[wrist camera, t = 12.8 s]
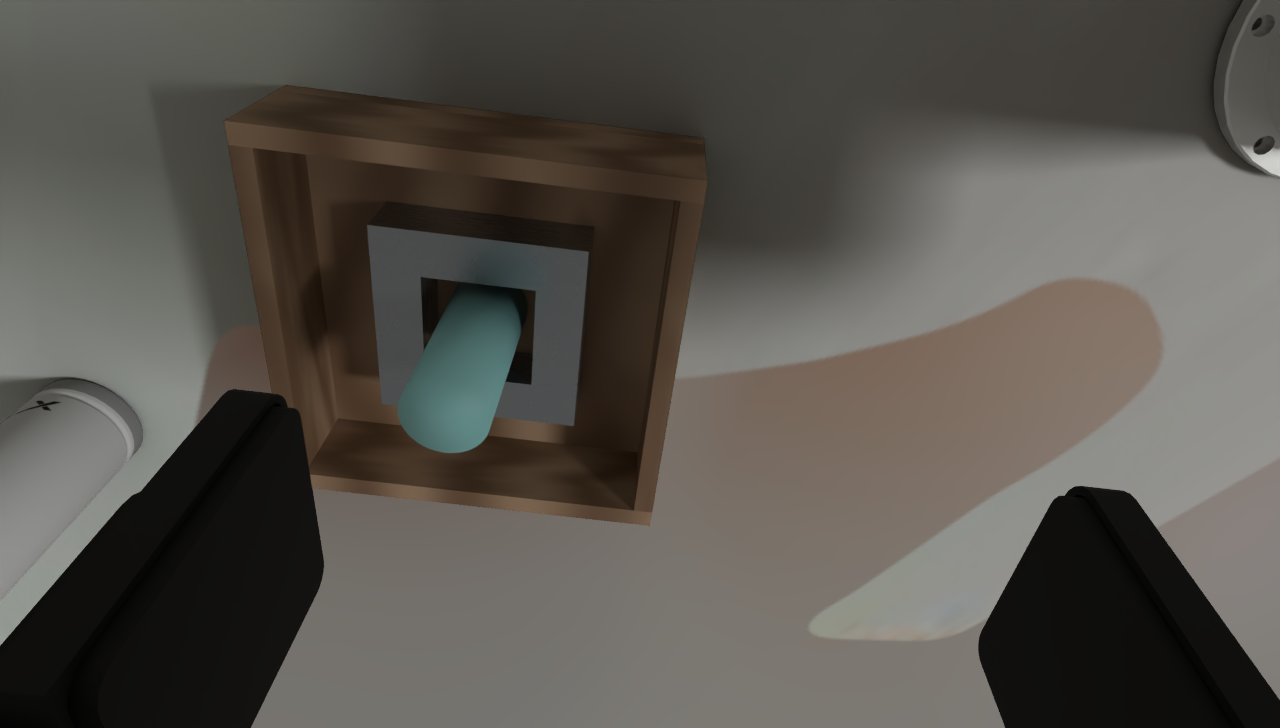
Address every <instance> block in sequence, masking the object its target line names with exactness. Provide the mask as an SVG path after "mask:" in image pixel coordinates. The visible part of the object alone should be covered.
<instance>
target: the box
mask: <svg viewBox="0 0 1280 728" xmlns="http://www.w3.org/2000/svg"><path fill="white" fill-rule="evenodd" d="M224 125H225V130H226V136H227V141H228V147H229V153H230V158H231V164H232V170H233V175H234V181H235V187H236V192H237V198H238V204H239V209H240V215H241V221H242V226H243V232H244V237H245V243H246V249H247V254H248V260H249V266H250V271H251V277H252V283H253V288H254V294H255V300H256V305H257V311H258V317H259V322H260V328H261V334H262V339H263V345H264V350H265V356H266V361H267V367H268V373H269V378H270V384H271V390H272V394H279V395H281V396H283V397H284V399H285V400H286V403H287V406H288V408H295V409H297V410H298V411H299V413H300V416H301V420H302V427H303V433H304V439H305V446H306V452H307V458H308V464H309V471H310V477H311V483H312V488H315V489H324V490H333V491H342V492H351V493H361V494H369V495H378V496H387V497H396V498H405V499H414V500H424V501H433V502H441V503H450V504H459V505H468V506H477V507H486V508H495V509H504V510H513V511H523V512H531V513H540V514H550V515H558V516H567V517H576V518H585V519H594V520H604V521H613V522H621V523H630V524H639V525H648V526H649V525H650V521H651V515H652V510H653V503H654V498H655V491H656V485H657V480H658V474H659V467H660V462H661V456H662V450H663V444H664V439H665V432H666V427H667V420H668V415H669V409H670V403H671V397H672V391H673V385H674V379H675V373H676V368H677V362H678V356H679V350H680V344H681V338H682V332H683V326H684V320H685V314H686V308H687V302H688V296H689V291H690V285H691V279H692V273H693V267H694V261H695V255H696V249H697V243H698V237H699V231H700V225H701V220H702V214H703V208H704V202H705V196H706V190H707V184H708V177H707V167H706V157H705V147H704V138H698V137H690V136H683V135H675V134H667V133H659V132H651V131H643V130H635V129H627V128H619V127H612V126H604V125H596V124H588V123H580V122H572V121H564V120H556V119H548V118H541V117H533V116H525V115H517V114H509V113H501V112H493V111H485V110H477V109H470V108H462V107H454V106H446V105H438V104H430V103H422V102H414V101H406V100H399V99H391V98H383V97H375V96H367V95H359V94H351V93H343V92H335V91H328V90H320V89H312V88H304V87H296V86H288V85H285V86H283V87H282V88H280V89H278V90H276V91H275V92H273V93H271V94H269V95H268V96H266V97H264V98H262V99H261V100H259V101H257V102H256V103H254V104H252V105H250V106H249V107H247V108H245V109H243V110H242V111H240V112H238V113H236V114H235V115H233V116H231V117H230V118H228V119H226V120H224ZM387 201H390V202H398V203H406V204H414V205H422V206H430V207H439V208H447V209H455V210H463V211H471V212H479V213H487V214H496V215H504V216H512V217H520V218H528V219H536V220H544V221H553V222H561V223H569V224H577V225H585V226H593V227H594V237H593V248H592V259H591V271H590V282H589V293H588V304H587V316H586V327H585V338H584V349H583V361H582V372H581V383H580V394H579V400H578V405H577V411H576V417H575V422H574V426H569V425H560V424H552V423H543V422H534V421H525V420H517V419H508V418H499V417H494V418H493V421H492V424H491V427H490V430H489V433H488V435H487V437H486V438H485V439H484V441H483V442H482V443H481V444H479V445H478V446H477V447H475V448H473V449H471V450H468V451H465V452H460V453H444V452H438V451H434V450H431V449H429V448H426V447H424V446H422V445H421V444H419V443H417V442H416V441H415V440H414V439H412V438H411V437H410V436H409V435H408V434H407V432H406V431H405V430H404V428H403V427H402V425H401V423H400V421H399V417H398V412H397V410H398V406H395V405H386V404H382V401H381V389H380V377H379V364H378V352H377V340H376V328H375V316H374V304H373V292H372V280H371V268H370V256H369V244H368V232H367V224H368V223H369V222H370V221H371V219H372V218H373V217H374V216H375V215H376V214H377V212H378V211H379V210H380V209H381V208H382V206H383V205H384V204H385V203H386V202H387ZM437 283H438V316H439V321H440V319H441V317H442V315H443V313H444V311H445V309H446V307H447V305H448V303H449V301H450V299H451V297H452V295H453V293H454V291H455V290H456V288H457V286H458V284H459V283H460V282H458V281H450V280H442V279H437ZM522 291H523V293H524V295H525V297H526V300H527V304H528V312H527V317H526V320H525V323H524V326H523V329H522V332H521V335H520V338H519V341H518V344H517V347H516V350H515V352H524V353H532V354H533V341H534V320H535V298H536V291H533V290H525V289H522Z"/></svg>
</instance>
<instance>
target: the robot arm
mask: <svg viewBox="0 0 1280 728" xmlns="http://www.w3.org/2000/svg"><path fill="white" fill-rule="evenodd" d="M1254 22H1255V23H1254ZM1213 85H1214V109H1215V113H1216V116H1217V119H1218V123H1219V126H1220V130H1221V132H1222V134H1223V135H1224V137H1225V138H1226V140H1227V142H1228V143H1229V145H1230V147H1231V148H1232V149H1233V150H1234V151H1235V152H1236V153H1237V154H1238V155H1239V156H1240V157H1241V158H1243V159H1244V160H1245V161H1246V162H1247V163H1248V164H1250V165H1252V166H1254V167H1256V168H1258V169H1259V170H1261V171H1263V172H1265V173H1266V174H1268V175H1271V176H1274V177H1277V178H1279V179H1280V0H1243V1H1242V3H1241V5H1240V7H1239V9H1238V11H1237V12H1236V14H1235V16H1234V18H1233V20H1232V22H1231V23H1230V25H1229V27H1228V30H1227V33H1226V36H1225V38H1224V41H1223V44H1222V47H1221V50H1220V52H1219V55H1218V60H1217V66H1216V72H1215V78H1214V84H1213ZM323 568H324V560H323V553H322V546H321V540H320V535H319V528H318V522H317V515H316V509H315V502H314V496H313V490H312V483H311V477H310V471H309V464H308V458H307V452H306V446H305V439H304V433H303V427H302V420H301V416H300V413H299V411H298V410H297V409H295V408H288V406H287V403H286V400H285V399H284V397H283V396H281V395H279V394H271V393H263V392H254V391H245V390H236V389H233V390H229V391H227V392H226V393H225V394H224V395H222V397H221V398H220V399H219V400H218V401H217V402H216V404H215V405H214V406H213V407H212V408H211V410H210V411H209V412H208V413H207V414H206V416H205V417H204V418H203V419H202V420H201V421H200V423H199V424H198V425H197V426H196V427H195V428H194V429H193V431H192V432H191V433H190V434H189V435H188V437H187V438H186V439H185V440H184V441H183V442H182V444H181V445H180V446H179V447H178V448H177V449H176V451H175V452H174V453H173V454H172V455H171V457H170V458H169V459H168V460H167V461H166V462H165V464H164V465H163V466H162V467H161V468H160V469H159V471H158V472H157V473H156V474H155V475H154V477H153V478H152V479H151V480H150V481H149V482H148V484H147V485H146V486H145V487H144V488H143V489H142V491H141V492H139V493H137V494H134V495H132V496H131V497H130V498H129V499H128V500H127V501H126V502H125V503H124V504H122V505H121V506H120V508H119V509H118V510H117V511H116V512H115V513H114V515H113V516H112V517H111V518H110V519H109V520H108V522H107V523H106V524H105V525H104V526H103V527H102V529H101V530H100V531H99V532H98V533H97V534H96V535H95V537H94V538H93V539H92V540H91V541H90V542H89V544H88V545H87V546H86V547H85V548H84V549H83V551H82V552H81V553H80V554H79V555H78V556H77V558H76V559H75V560H74V561H73V562H72V563H71V564H70V566H69V567H68V568H67V569H66V570H65V571H64V573H63V574H62V575H61V576H60V577H59V578H58V580H57V581H56V582H55V583H54V584H53V585H52V587H51V588H50V589H49V590H48V591H47V592H46V593H45V595H44V596H43V597H42V598H41V599H40V600H39V602H38V603H37V604H36V605H35V606H34V607H33V609H32V610H31V611H30V612H29V613H28V614H27V615H26V617H25V618H24V619H23V620H22V621H21V622H20V624H19V625H18V626H17V627H16V628H15V629H14V631H13V632H12V633H11V634H10V635H9V636H8V638H7V639H6V640H5V641H4V642H3V643H2V644H1V646H0V728H251V726H252V724H253V722H254V720H255V718H256V716H257V714H258V712H259V710H260V708H261V706H262V703H263V702H264V699H265V697H266V695H267V693H268V691H269V689H270V687H271V685H272V683H273V681H274V679H275V677H276V675H277V673H278V671H279V669H280V667H281V665H282V663H283V661H284V659H285V657H286V655H287V653H288V651H289V649H290V647H291V644H292V642H293V641H294V639H295V637H296V635H297V632H298V630H299V628H300V626H301V624H302V622H303V620H304V618H305V616H306V614H307V612H308V610H309V608H310V606H311V604H312V602H313V600H314V598H315V596H316V594H317V592H318V589H319V587H320V584H321V580H322V575H323ZM978 647H979V649H978V650H979V657H980V661H981V664H982V667H983V670H984V672H985V675H986V678H987V680H988V683H989V686H990V688H991V690H992V694H993V696H994V699H995V702H996V704H997V707H998V709H999V712H1000V715H1001V717H1002V720H1003V723H1004V725H1005V728H1280V700H1279V699H1278V697H1277V696H1276V694H1275V693H1274V692H1273V690H1272V689H1271V687H1270V686H1269V685H1268V683H1267V682H1266V680H1265V679H1264V678H1263V676H1262V675H1261V673H1260V672H1259V671H1258V669H1257V668H1256V666H1255V665H1254V664H1253V662H1252V661H1251V660H1250V658H1249V657H1248V655H1247V654H1246V653H1245V651H1244V650H1243V648H1242V647H1241V646H1240V644H1239V643H1238V642H1237V640H1236V639H1235V637H1234V636H1233V635H1232V633H1231V632H1230V630H1229V629H1228V627H1227V626H1226V625H1225V623H1224V622H1223V620H1222V619H1221V618H1220V616H1219V615H1218V613H1217V612H1216V611H1215V609H1214V608H1213V606H1212V605H1211V604H1210V602H1209V601H1208V599H1207V598H1206V597H1205V595H1204V594H1203V592H1202V591H1201V590H1200V588H1199V587H1198V586H1197V584H1196V583H1195V581H1194V580H1193V579H1192V577H1191V576H1190V575H1189V573H1188V572H1187V570H1186V569H1185V568H1184V566H1183V565H1182V563H1181V562H1180V560H1179V559H1178V558H1177V556H1176V555H1175V553H1174V552H1173V551H1172V549H1171V548H1170V547H1169V545H1168V544H1167V542H1166V541H1165V539H1164V538H1163V537H1162V536H1161V534H1160V532H1159V531H1158V530H1157V528H1156V527H1155V526H1154V524H1153V523H1152V521H1151V520H1150V519H1149V517H1148V516H1147V514H1146V513H1145V512H1144V510H1143V509H1142V507H1141V506H1140V505H1139V503H1138V502H1137V500H1136V499H1135V498H1134V497H1133V496H1132V495H1131V494H1129V493H1127V492H1125V491H1120V490H1111V489H1102V488H1094V487H1085V486H1076V487H1073V488H1072V489H1070V490H1069V491H1068V492H1067V494H1066V495H1065V496H1058V497H1057V498H1055V499H1054V500H1053V502H1052V503H1051V505H1050V507H1049V508H1048V510H1047V512H1046V514H1045V516H1044V518H1043V519H1042V521H1041V523H1040V525H1039V527H1038V529H1037V530H1036V532H1035V534H1034V536H1033V538H1032V540H1031V541H1030V543H1029V545H1028V547H1027V549H1026V551H1025V552H1024V554H1023V556H1022V558H1021V560H1020V562H1019V563H1018V565H1017V567H1016V569H1015V571H1014V573H1013V574H1012V576H1011V578H1010V580H1009V582H1008V584H1007V585H1006V587H1005V589H1004V591H1003V593H1002V595H1001V596H1000V598H999V600H998V602H997V604H996V606H995V607H994V609H993V611H992V613H991V615H990V617H989V618H988V620H987V622H986V624H985V626H984V628H983V629H982V631H981V634H980V637H979V646H978Z"/></svg>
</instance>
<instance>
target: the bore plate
mask: <svg viewBox="0 0 1280 728" xmlns="http://www.w3.org/2000/svg"><path fill="white" fill-rule="evenodd" d="M367 232H368V244H369V256H370V268H371V280H372V292H373V304H374V316H375V328H376V340H377V352H378V364H379V377H380V389H381V401H382V404H386V405H395V406H398V402H399V399H400V397H401V395H402V393H403V391H404V389H405V387H406V385H407V383H408V381H409V379H410V377H411V375H412V373H413V371H414V369H415V368H416V366H417V364H418V362H419V360H420V358H421V356H422V354H423V352H424V350H425V348H426V346H427V344H428V342H429V340H430V338H431V336H432V334H433V332H434V330H435V329H436V327H437V325H438V323H439V316H438V283H437V279H442V280H450V281H458V282H467V283H475V284H483V285H492V286H500V287H508V288H517V289H525V290H533V291H536V298H535V320H534V341H533V354H532V353H524V352H515V354H514V357H513V360H512V363H511V366H510V369H509V372H508V375H507V378H506V381H505V384H504V387H503V390H502V393H501V396H500V399H499V403H498V406H497V409H496V412H495V415H494V417H499V418H508V419H517V420H525V421H534V422H543V423H552V424H560V425H569V426H574V422H575V417H576V411H577V405H578V400H579V394H580V383H581V372H582V361H583V349H584V338H585V327H586V316H587V304H588V293H589V282H590V271H591V259H592V248H593V237H594V227H593V226H585V225H577V224H569V223H561V222H553V221H544V220H536V219H528V218H520V217H512V216H504V215H496V214H487V213H479V212H471V211H463V210H455V209H447V208H439V207H430V206H422V205H414V204H406V203H398V202H390V201H387V202H386V203H385V204H384V205H383V206H382V208H381V209H380V210H379V211H378V212H377V214H376V215H375V216H374V217H373V218H372V219H371V221H370V222H369V223H368V224H367Z"/></svg>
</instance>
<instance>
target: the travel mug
mask: <svg viewBox="0 0 1280 728" xmlns="http://www.w3.org/2000/svg"><path fill="white" fill-rule="evenodd" d="M142 440H143V430H142V426H141V423H140V421H139V419H138V417H137V415H136V413H135V412H134V411H133V409H132V408H131V407H130V406H129V405H128V404H127V403H126V402H125V401H124V400H123V399H122V398H120V397H119V396H118V395H116V394H115V393H113V392H111V391H110V390H108V389H106V388H104V387H102V386H99V385H97V384H94V383H91V382H87V381H83V380H75V379H70V380H60V381H55V382H53V383H50V384H48V385H47V386H45V387H44V388H43V389H42V390H41V391H39V392H38V393H37V394H36V395H35V396H33V397H32V398H31V399H30V400H29V401H28V402H26V403H25V404H24V405H23V406H22V407H20V408H19V409H18V410H17V411H16V412H14V413H13V414H12V415H11V416H10V417H8V418H7V419H6V420H5V421H4V422H2V423H1V424H0V601H1V600H2V599H3V598H4V597H5V595H6V594H7V593H8V592H9V591H10V590H11V589H12V588H13V587H14V586H15V584H16V583H17V582H18V581H19V580H20V579H21V578H22V577H23V576H24V575H25V574H26V572H27V571H28V570H29V569H30V568H31V567H32V566H33V565H34V564H35V563H36V561H37V560H38V559H39V558H40V557H41V556H42V555H43V554H44V553H45V552H46V550H47V549H48V548H49V547H50V546H51V545H52V544H53V543H54V542H55V541H56V539H57V538H58V537H59V536H60V535H61V534H62V533H63V532H64V531H65V530H66V528H67V527H68V526H69V525H70V524H71V523H72V522H73V521H74V520H75V519H76V517H77V516H78V515H79V514H80V513H81V512H82V511H83V510H84V509H85V508H86V506H87V505H88V504H89V503H90V502H91V501H92V500H93V499H94V498H95V497H96V495H97V494H98V493H99V492H100V491H101V490H102V489H103V488H104V487H105V486H106V485H107V483H108V482H109V481H110V480H111V479H112V478H113V477H114V476H115V475H116V474H117V472H118V471H119V470H120V469H121V468H122V467H123V465H124V464H125V463H127V461H128V460H129V459H130V458H131V457H132V456H133V455H134V454H135V453H136V452H137V450H138V449H139V447H140V446H141V443H142Z"/></svg>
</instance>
